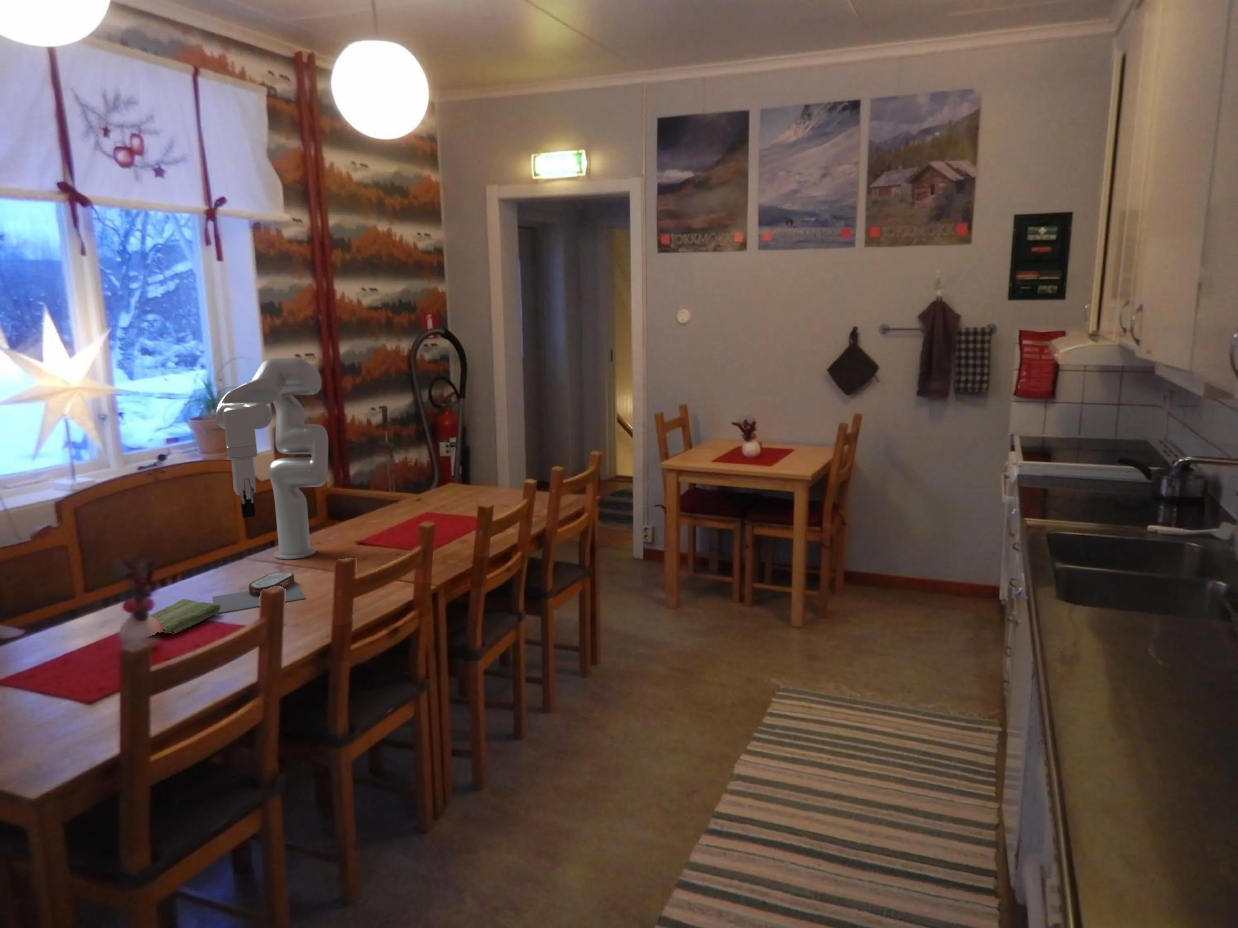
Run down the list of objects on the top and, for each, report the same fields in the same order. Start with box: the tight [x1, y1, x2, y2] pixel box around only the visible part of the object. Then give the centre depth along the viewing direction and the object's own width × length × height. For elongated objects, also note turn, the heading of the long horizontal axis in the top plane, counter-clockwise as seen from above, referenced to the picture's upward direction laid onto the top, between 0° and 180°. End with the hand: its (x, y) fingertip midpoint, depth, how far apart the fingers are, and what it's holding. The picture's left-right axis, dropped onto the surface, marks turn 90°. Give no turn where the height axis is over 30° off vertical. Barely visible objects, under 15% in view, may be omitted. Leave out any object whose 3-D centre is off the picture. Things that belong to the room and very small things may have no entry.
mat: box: [211, 582, 307, 615], centre depth 232 cm, size 15×22×1 cm
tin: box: [248, 571, 296, 596], centre depth 239 cm, size 15×3×8 cm
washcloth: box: [149, 598, 221, 634], centre depth 214 cm, size 13×18×3 cm
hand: (248, 516), depth 235 cm, fingers closed
